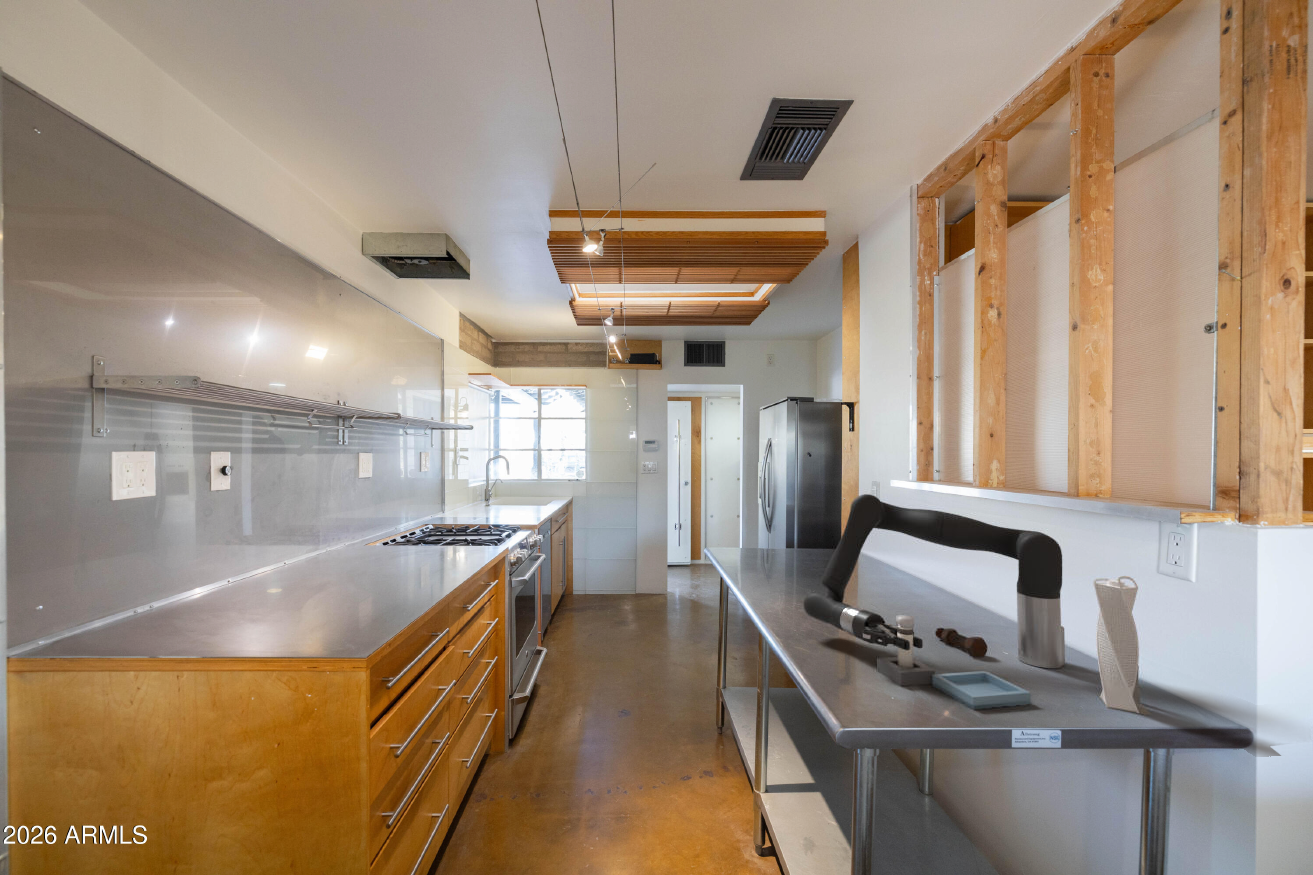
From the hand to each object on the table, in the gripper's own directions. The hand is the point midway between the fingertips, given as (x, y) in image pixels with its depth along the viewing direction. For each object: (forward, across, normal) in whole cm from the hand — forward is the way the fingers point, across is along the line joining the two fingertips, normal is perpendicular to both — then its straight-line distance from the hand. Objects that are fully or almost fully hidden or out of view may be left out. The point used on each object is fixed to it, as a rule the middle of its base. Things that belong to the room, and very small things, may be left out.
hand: (914, 644), depth 125 cm
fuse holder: (-3, 0, +8) cm, 9 cm away
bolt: (-14, +31, +9) cm, 35 cm away
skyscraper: (+24, +32, +9) cm, 41 cm away
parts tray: (+10, +8, +8) cm, 15 cm away
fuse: (-3, 0, +8) cm, 9 cm away
